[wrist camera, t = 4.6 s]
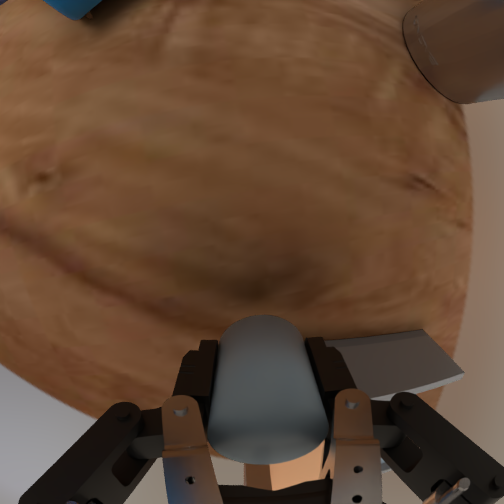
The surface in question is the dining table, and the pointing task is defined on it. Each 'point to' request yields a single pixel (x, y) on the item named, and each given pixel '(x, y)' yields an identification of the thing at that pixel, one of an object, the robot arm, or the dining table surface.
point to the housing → (396, 365)
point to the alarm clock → (74, 7)
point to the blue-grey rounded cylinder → (265, 394)
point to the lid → (284, 472)
